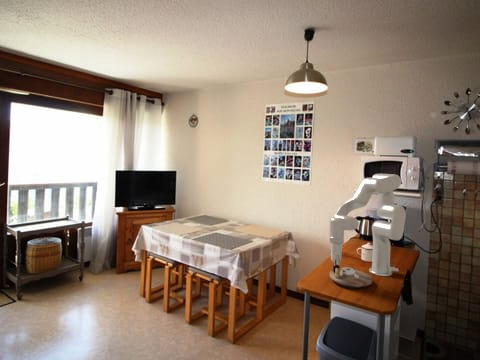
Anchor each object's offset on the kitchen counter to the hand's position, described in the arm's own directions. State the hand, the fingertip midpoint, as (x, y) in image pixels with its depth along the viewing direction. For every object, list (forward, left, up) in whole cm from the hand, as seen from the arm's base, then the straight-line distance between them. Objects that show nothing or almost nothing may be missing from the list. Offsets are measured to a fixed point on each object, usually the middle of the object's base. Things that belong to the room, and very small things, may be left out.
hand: (336, 272), depth 162 cm
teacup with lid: (-24, -46, -6) cm, 52 cm away
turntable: (-8, -2, -3) cm, 8 cm away
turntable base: (-8, -2, -5) cm, 10 cm away
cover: (-6, -1, -2) cm, 7 cm away
